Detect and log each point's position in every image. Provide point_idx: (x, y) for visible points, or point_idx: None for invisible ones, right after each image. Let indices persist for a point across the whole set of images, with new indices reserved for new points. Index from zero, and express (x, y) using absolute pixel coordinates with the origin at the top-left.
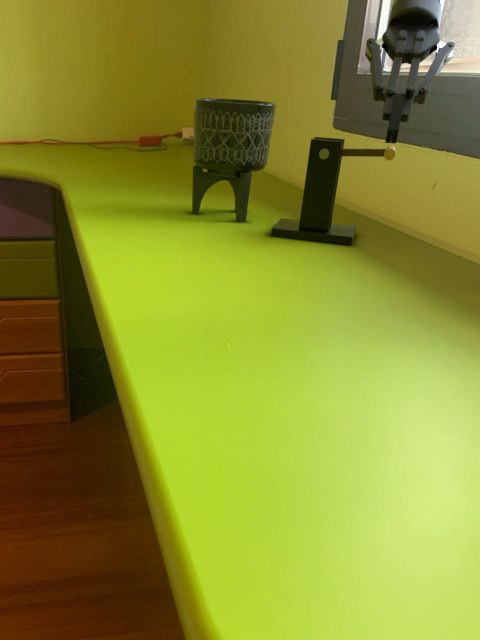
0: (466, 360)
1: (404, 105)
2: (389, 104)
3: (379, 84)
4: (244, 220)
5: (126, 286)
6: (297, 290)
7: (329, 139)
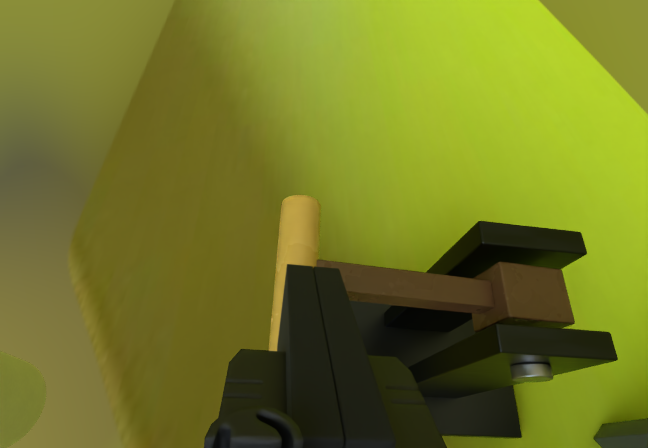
0: None
1: (278, 406)
2: (391, 403)
3: None
4: (597, 434)
5: (525, 9)
6: (372, 27)
7: (549, 328)
